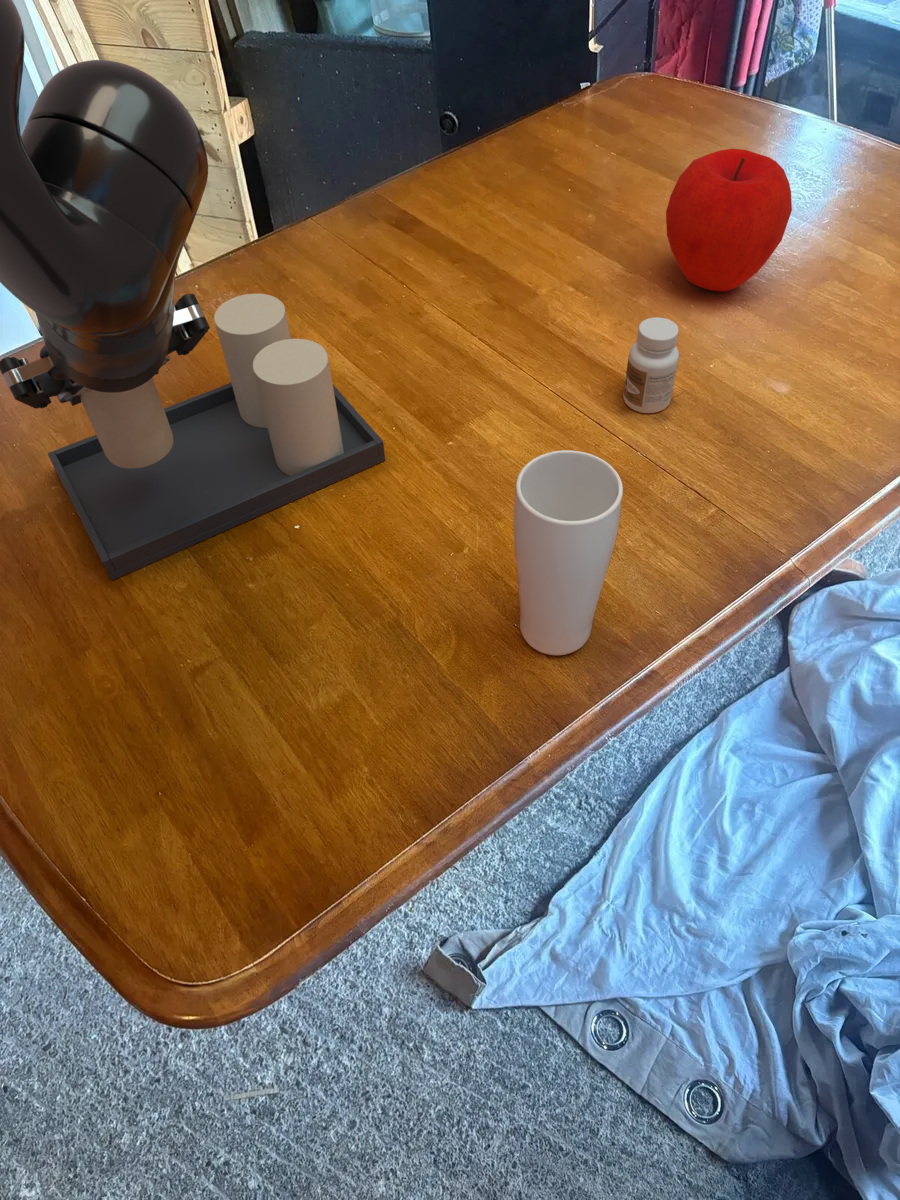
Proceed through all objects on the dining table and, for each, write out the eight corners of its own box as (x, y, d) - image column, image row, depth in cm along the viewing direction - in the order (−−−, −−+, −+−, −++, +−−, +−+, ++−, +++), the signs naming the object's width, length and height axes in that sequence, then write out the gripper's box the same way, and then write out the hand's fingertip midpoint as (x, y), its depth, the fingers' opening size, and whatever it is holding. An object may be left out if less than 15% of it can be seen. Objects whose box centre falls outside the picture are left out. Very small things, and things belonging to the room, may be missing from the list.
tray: (111, 581, 71) (102, 562, 69) (56, 472, 79) (47, 453, 78) (385, 460, 79) (383, 441, 77) (309, 373, 87) (306, 353, 85)
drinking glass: (514, 591, 69) (519, 444, 57) (602, 598, 68) (625, 451, 57) (505, 662, 65) (509, 520, 53) (598, 671, 64) (623, 529, 53)
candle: (91, 461, 71) (42, 356, 63) (129, 418, 74) (87, 313, 66) (151, 476, 70) (108, 370, 62) (187, 431, 73) (150, 326, 65)
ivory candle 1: (255, 437, 80) (230, 342, 73) (229, 401, 84) (202, 308, 76) (315, 412, 82) (297, 318, 74) (287, 379, 86) (267, 285, 78)
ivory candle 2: (293, 488, 76) (271, 394, 68) (264, 449, 79) (240, 354, 72) (355, 461, 78) (341, 366, 70) (324, 424, 81) (307, 329, 73)
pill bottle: (616, 388, 84) (626, 317, 78) (660, 381, 85) (674, 310, 79) (631, 418, 82) (642, 346, 75) (677, 411, 82) (691, 339, 76)
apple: (656, 314, 92) (678, 185, 81) (652, 252, 99) (672, 127, 88) (774, 318, 90) (812, 188, 80) (762, 256, 98) (795, 129, 87)
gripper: (191, 216, 54) (174, 300, 70) (-49, 293, 50) (-9, 364, 66) (245, 333, 56) (217, 389, 71) (15, 418, 51) (40, 458, 67)
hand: (109, 377), depth 68 cm, fingers closed on candle, 5 cm apart
